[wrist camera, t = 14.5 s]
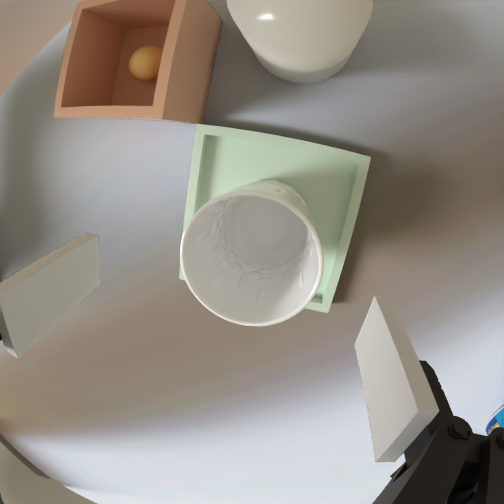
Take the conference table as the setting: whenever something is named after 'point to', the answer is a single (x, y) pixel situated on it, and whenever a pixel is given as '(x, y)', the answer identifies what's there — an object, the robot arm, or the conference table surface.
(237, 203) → the white cup
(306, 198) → the tray
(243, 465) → the conference table surface
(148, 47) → the ball
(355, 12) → the mug
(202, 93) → the planter
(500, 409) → the beverage bottle
